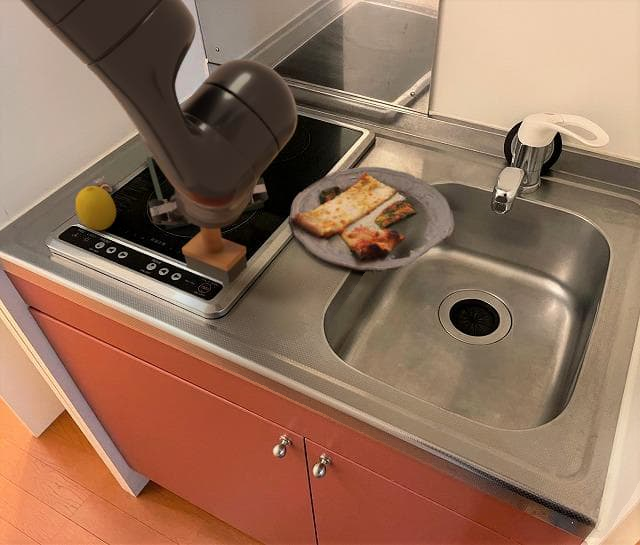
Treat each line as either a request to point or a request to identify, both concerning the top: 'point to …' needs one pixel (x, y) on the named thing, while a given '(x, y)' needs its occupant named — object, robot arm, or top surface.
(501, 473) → the top surface
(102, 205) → the lemon
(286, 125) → the robot arm
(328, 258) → the food plate
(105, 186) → the pale curved piece
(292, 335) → the top surface
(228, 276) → the brush
